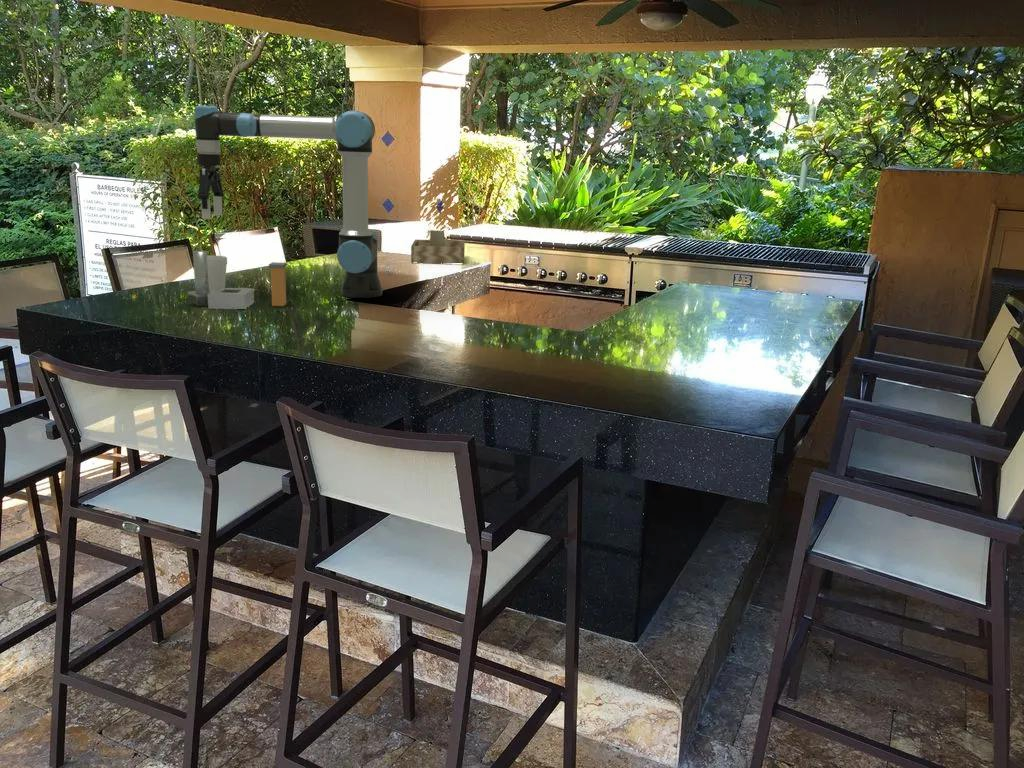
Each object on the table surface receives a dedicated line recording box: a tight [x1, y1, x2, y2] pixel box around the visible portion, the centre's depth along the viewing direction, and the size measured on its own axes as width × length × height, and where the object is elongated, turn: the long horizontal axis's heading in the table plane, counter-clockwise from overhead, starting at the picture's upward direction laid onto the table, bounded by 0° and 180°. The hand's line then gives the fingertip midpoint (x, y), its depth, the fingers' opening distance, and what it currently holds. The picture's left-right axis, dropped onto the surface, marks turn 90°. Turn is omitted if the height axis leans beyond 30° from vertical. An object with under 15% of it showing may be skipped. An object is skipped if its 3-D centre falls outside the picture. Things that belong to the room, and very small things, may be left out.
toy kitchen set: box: [419, 229, 446, 247], centre depth 411 cm, size 18×17×15 cm
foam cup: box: [207, 255, 228, 291], centre depth 308 cm, size 10×9×13 cm
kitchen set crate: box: [410, 239, 466, 265], centre depth 412 cm, size 24×26×8 cm
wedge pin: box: [268, 262, 287, 307], centre depth 292 cm, size 5×5×14 cm
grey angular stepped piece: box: [187, 250, 255, 310], centre depth 292 cm, size 20×24×18 cm
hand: (212, 217), depth 295 cm, fingers open, 13 cm apart
